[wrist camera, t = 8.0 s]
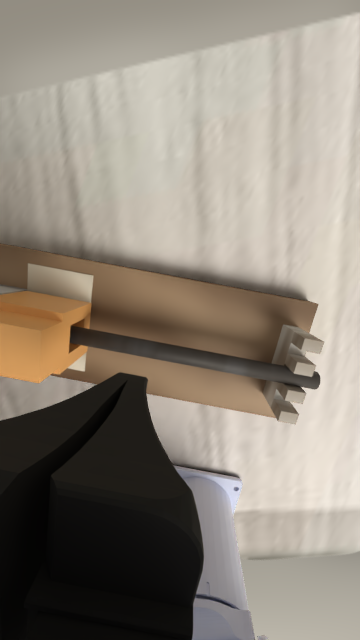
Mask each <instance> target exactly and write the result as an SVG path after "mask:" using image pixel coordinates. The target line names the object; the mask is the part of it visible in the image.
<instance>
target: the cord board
mask: <svg viewBox="0 0 360 640" xmlns="http://www.w3.org/2000/svg"><path fill="white" fill-rule="evenodd" d="M22 291H31V292H36V293H42V294H47V295H52V296H58V297H63V298H68V299H74V300H79V301H84V302H90V303H92V305H91V316H90V327H89V329H87V328H82V327H76V326H71V327H70V341H69V343H72V344H77V345H83V346H88V349H87V352H86V353H85V354H84V355H83V356H81V357H80V358H79V359H78V360H76V361H75V362H74V363H73V364H72V365H70V366H69V367H68V368H67V369H66V370H64V371H63V372H62V373H61V374H53V373H52V374H51V375H52V376H57V377H62V378H68V379H73V380H78V381H83V382H89V383H94V384H99V383H101V382H103V381H105V380H107V379H108V378H110V377H112V376H113V375H115V374H117V373H119V372H122V373H127V374H133V375H138V376H143V377H146V378H147V379H148V383H147V389H146V393H147V394H152V395H157V396H162V397H168V398H173V399H178V400H184V401H189V402H194V403H199V404H205V405H210V406H215V407H220V408H226V409H231V410H236V411H241V412H247V413H252V414H257V415H263V416H268V417H273V418H277V420H278V421H279V422H284V423H290V424H295V425H296V422H297V419H298V416H299V414H298V412H297V411H296V410H295V408H294V407H293V405H292V404H291V403H290V402H294V403H300V404H303V401H304V399H305V396H306V393H305V391H304V390H303V389H302V388H301V387H305V388H310V389H317V388H318V387H319V385H320V375H319V374H318V372H315V371H314V370H315V367H316V365H315V364H313V363H312V362H311V361H310V360H308V359H307V358H306V357H305V354H306V351H307V352H312V353H318V354H320V353H321V350H322V347H323V344H324V342H323V341H321V340H320V339H318V338H316V337H315V336H313V335H311V334H309V331H310V328H311V325H312V322H313V319H314V316H315V313H316V310H317V307H318V304H316V303H313V302H310V301H305V300H300V299H294V298H289V297H284V296H278V295H273V294H268V293H262V292H257V291H252V290H246V289H241V288H236V287H230V286H225V285H220V284H214V283H209V282H204V281H198V280H193V279H188V278H182V277H177V276H172V275H166V274H161V273H156V272H150V271H145V270H140V269H134V268H129V267H124V266H118V265H113V264H107V263H102V262H97V261H91V260H86V259H81V258H75V257H70V256H65V255H59V254H54V253H49V252H43V251H38V250H33V249H27V248H22V247H17V246H11V245H6V244H1V243H0V295H2V294H9V293H15V292H22Z"/></svg>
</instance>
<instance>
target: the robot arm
mask: <svg viewBox="0 0 360 640" xmlns="http://www.w3.org/2000/svg"><path fill="white" fill-rule="evenodd" d="M147 383H148V379H147V378H146V377H143V376H138V375H133V374H127V373H122V372H119V373H117V374H115V375H113V376H112V377H110V378H108V379H107V380H105V381H103V382H101V383H99V384H98V385H96V386H94V387H92V388H90V389H88V390H86V391H84V392H82V393H80V394H78V395H76V396H74V397H72V398H69V399H67V400H65V401H62V402H60V403H57V404H55V405H52V406H49V407H47V408H44V409H41V410H37V411H34V412H31V413H27V414H24V415H21V416H17V417H14V418H10V419H6V420H2V421H0V640H255V637H254V631H253V625H252V619H251V614H250V611H249V609H248V602H247V597H246V590H245V585H244V578H243V572H242V566H241V560H240V554H239V548H238V542H237V536H236V531H235V525H234V519H233V515H234V511H235V508H236V505H237V502H238V498H239V495H240V492H241V489H242V485H243V484H242V480H241V479H240V478H237V477H232V476H227V475H221V474H216V473H211V472H206V471H200V470H195V469H190V468H185V467H179V466H174V465H173V464H172V463H171V461H170V460H169V458H168V456H167V454H166V452H165V450H164V448H163V447H162V445H161V443H160V441H159V438H158V436H157V434H156V431H155V429H154V426H153V423H152V420H151V416H150V412H149V408H148V403H147V396H146V389H147ZM257 637H258V640H268V638H267V637H266V636H265V635H262V636H257Z"/></svg>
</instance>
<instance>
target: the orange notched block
mask: <svg viewBox="0 0 360 640" xmlns="http://www.w3.org/2000/svg"><path fill="white" fill-rule="evenodd" d="M91 305H92V303H90V302H84V301H79V300H74V299H68V298H63V297H58V296H52V295H47V294H42V293H36V292H31V291H22V292H15V293H9V294H2V295H0V376H3V377H9V378H14V379H19V380H24V381H30V382H35V383H40V382H42V381H43V380H44V379H45V378H47V377H48V376H49V375H51V374H52V373H53V374H61V373H62V372H63V371H64V370H66V369H67V368H68V367H69V366H70V365H72V364H73V363H74V362H75V361H76V360H78V359H79V358H80V357H81V356H83V355H84V354H85V353H86V352H87V349H88V346H83V345H77V344H72V343H69V341H70V327H71V326H76V327H82V328H87V329H89V327H90V316H91Z"/></svg>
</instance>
